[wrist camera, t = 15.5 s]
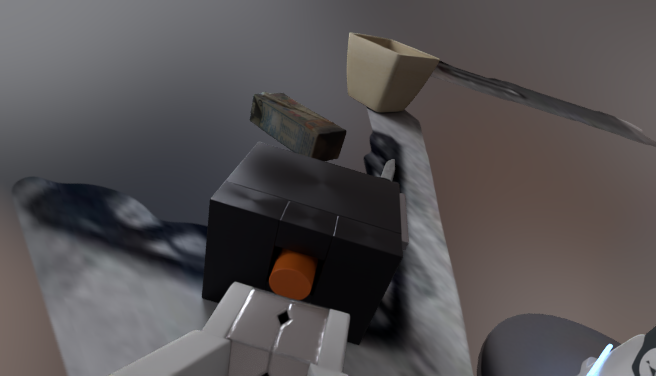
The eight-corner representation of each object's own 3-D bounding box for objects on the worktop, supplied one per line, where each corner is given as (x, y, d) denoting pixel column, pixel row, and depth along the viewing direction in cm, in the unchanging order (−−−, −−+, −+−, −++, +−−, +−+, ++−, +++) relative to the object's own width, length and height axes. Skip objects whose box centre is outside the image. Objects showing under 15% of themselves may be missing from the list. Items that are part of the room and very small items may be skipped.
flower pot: (373, 91, 114) (391, 38, 106) (418, 115, 104) (442, 58, 95) (332, 91, 102) (347, 31, 93) (378, 119, 91) (400, 54, 83)
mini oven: (373, 264, 44) (408, 186, 38) (368, 348, 34) (415, 260, 27) (245, 225, 44) (258, 141, 38) (201, 298, 34) (209, 198, 27)
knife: (383, 150, 71) (406, 159, 70) (380, 159, 72) (403, 167, 71) (366, 193, 54) (396, 204, 54) (362, 202, 55) (392, 214, 55)
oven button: (313, 277, 32) (322, 249, 30) (306, 305, 29) (315, 276, 28) (276, 266, 32) (283, 238, 30) (265, 293, 29) (272, 263, 28)
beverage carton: (278, 117, 76) (284, 88, 72) (340, 160, 66) (350, 128, 63) (248, 121, 70) (252, 89, 67) (311, 168, 60) (319, 134, 57)
